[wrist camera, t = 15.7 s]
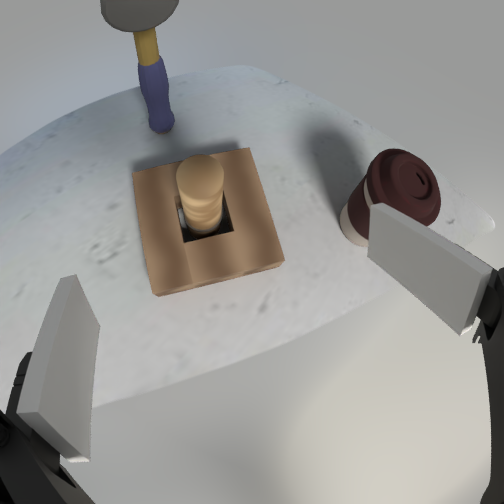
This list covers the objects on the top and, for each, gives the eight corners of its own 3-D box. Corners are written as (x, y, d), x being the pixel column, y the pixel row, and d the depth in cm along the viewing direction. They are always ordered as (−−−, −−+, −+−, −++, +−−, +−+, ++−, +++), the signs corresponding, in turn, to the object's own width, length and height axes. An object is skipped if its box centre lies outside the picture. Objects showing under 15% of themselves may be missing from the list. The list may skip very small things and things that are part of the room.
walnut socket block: (158, 296, 38) (152, 293, 34) (138, 186, 41) (132, 172, 37) (278, 266, 41) (284, 260, 37) (246, 162, 44) (249, 147, 40)
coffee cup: (329, 251, 42) (381, 213, 27) (330, 187, 44) (373, 131, 30) (389, 260, 43) (454, 229, 28) (387, 199, 45) (441, 154, 31)
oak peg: (190, 245, 40) (179, 203, 26) (183, 213, 41) (170, 159, 27) (225, 237, 41) (231, 191, 27) (217, 205, 42) (219, 148, 28)
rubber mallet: (136, 106, 45) (99, -51, 16) (179, 95, 46) (168, -66, 17) (145, 165, 42) (88, -16, 13) (194, 152, 43) (184, -39, 14)
